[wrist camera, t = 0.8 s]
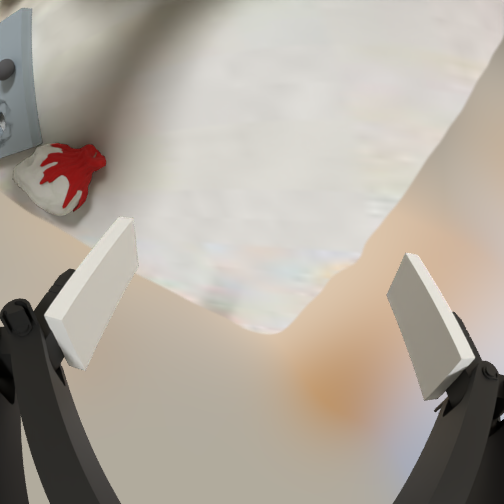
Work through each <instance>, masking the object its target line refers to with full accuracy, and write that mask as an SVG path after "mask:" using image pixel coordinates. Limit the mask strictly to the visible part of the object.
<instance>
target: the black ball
mask: <svg viewBox="0 0 504 504" xmlns="http://www.w3.org/2000/svg"><path fill="white" fill-rule="evenodd" d="M14 69H15V64H14V62H13V61H12V60H11V59H4V60H2V61H0V81H4V80H7V79H8V78H9V77H11V75H12V74H13V72H14Z"/></svg>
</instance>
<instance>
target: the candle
mask: <svg viewBox="0 0 504 504" xmlns="http://www.w3.org/2000/svg"><path fill="white" fill-rule="evenodd" d="M104 166H106V159H105V157H104V156H102V155H101V153H100V152H99V151H98V150H97V149H96V148H95V147H94V146H93V145H91V144H88V145H85V146H84V147H82V148H80V149H73V148H71V147H70V146H68V145H66V144H60V143H50V144H44V145H43V146H39V147H38V148H36V150H35V152H34V153H33V154H32V156H31V157H28V158H26V159H25V160H23V161H22V162H21V163H20V164H18V165H17V166H16V167H15V168H14V171H13V172H14V173H13V179H12V180H14V182H15V184H17V183H18V187H20V188H22V190H23V191H26V193H27V195H28V196H29V197H30V199H31V200H32V201H33V202H34V203H35V204H36V205H37V206H38V207H40V208H41V209H43V210H45V211H47V212H49V213H51V214H54V215H57V216H64V215H67V214H68V213H69V212H71V211H72V210H73V212H74V211H75V210H77V209H78V208H79V207H80V206H81V205H82V204H83V203H84V202H85V201H86V198H87V195H88V185H89V183H90V181H91V178H92V173H93V172H94V171H97V170H99V169H101V168H102V167H104Z"/></svg>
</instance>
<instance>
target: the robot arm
mask: <svg viewBox="0 0 504 504" xmlns="http://www.w3.org/2000/svg"><path fill="white" fill-rule="evenodd" d="M138 266H139V264H138V256H137V247H136V238H135V227H134V218H127V217H119V218H118V219H117V220H116V221H115V222H114V223H113V225H112V226H111V227H110V228H109V229H108V231H107V232H106V233H105V234H104V235H103V237H102V238H101V239H100V240H99V241H98V243H97V244H96V245H95V246H94V248H93V249H92V250H91V251H90V253H89V254H88V255H87V256H86V258H85V259H84V260H83V261H82V263H81V264H80V265H79V267H78V268H77V269H76V270H74V269H68V270H67V271H66V272H64V273H63V274H61V275H60V276H59V277H58V279H57V280H56V281H55V283H54V285H53V286H52V287H51V288H50V289H49V292H48V293H46V295H45V296H44V298H43V299H42V300H41V302H40V303H39V304H38V306H37V307H36V309H35V310H34V311H33V309H32V307H31V305H30V303H29V302H28V301H27V300H26V299H15V300H12V301H10V302H8V303H7V304H6V305H5V306H4V307H3V309H2V310H1V312H0V319H1V321H2V323H3V325H4V327H0V504H29V501H28V495H27V489H26V483H25V475H24V467H23V457H22V443H21V417H22V422H23V426H24V430H25V434H26V437H27V441H28V444H29V448H30V451H31V454H32V457H33V460H34V463H35V466H36V469H37V472H38V475H39V477H40V480H41V483H42V485H43V488H44V490H45V493H46V495H47V498H48V500H49V502H50V504H121V503H120V501H119V499H118V498H117V496H116V494H115V492H114V491H113V489H112V487H111V486H110V483H109V482H108V480H107V478H106V476H105V474H104V472H103V470H102V468H101V466H100V464H99V462H98V460H97V458H96V456H95V453H94V451H93V449H92V447H91V445H90V442H89V440H88V438H87V435H86V433H85V430H84V428H83V426H82V423H81V421H80V418H79V415H78V413H77V410H76V407H75V404H74V402H73V399H72V396H71V393H70V390H69V387H68V384H67V380H66V377H65V374H64V370H63V368H62V366H61V362H62V360H63V358H64V357H65V359H66V361H67V363H68V364H69V366H72V367H75V368H78V369H81V370H86V369H87V366H88V364H89V362H90V360H91V358H92V355H93V353H94V351H95V349H96V347H97V345H98V343H99V341H100V338H101V337H102V335H103V333H104V330H105V328H106V326H107V324H108V322H109V321H110V318H111V317H112V314H113V313H114V311H115V309H116V307H117V304H118V303H119V301H120V299H121V297H122V296H123V294H124V292H125V290H126V288H127V286H128V284H129V283H130V281H131V279H132V277H133V275H134V274H135V272H136V270H137V268H138ZM387 297H388V300H389V302H390V305H391V307H392V310H393V313H394V315H395V318H396V320H397V323H398V325H399V328H400V330H401V333H402V336H403V338H404V341H405V344H406V347H407V350H408V352H409V355H410V358H411V361H412V363H413V367H414V370H415V373H416V376H417V379H418V382H419V385H420V388H421V391H422V395H423V398H424V401H425V400H432V399H438V398H439V397H440V396H441V395H442V394H443V393H444V392H445V391H446V392H447V395H448V397H447V398H446V399H445V400H444V401H443V402H442V403H441V404H440V405H439V406H438V407H437V408H436V409H435V410H434V412H437V410H439V409H440V408H441V410H440V412H439V415H438V417H437V420H436V422H435V424H434V427H433V429H432V431H431V434H430V436H429V438H428V440H427V442H426V444H425V447H424V449H423V451H422V453H421V455H420V457H419V459H418V461H417V463H416V465H415V466H414V468H413V470H412V472H411V474H410V476H409V477H408V479H407V481H406V483H405V485H404V487H403V488H402V490H401V492H400V493H399V495H398V496H397V498H396V500H395V501H394V503H393V504H504V419H503V420H502V421H501V420H500V416H501V415H502V414H503V413H504V375H500V374H499V373H498V371H497V369H496V368H495V366H494V365H493V364H491V363H490V362H488V361H482V359H481V357H480V355H479V353H478V351H477V349H476V347H475V345H474V343H473V341H472V339H471V337H469V333H468V331H467V330H466V327H465V326H464V324H463V322H462V320H461V319H460V318H459V317H458V316H457V314H456V313H455V312H452V311H451V309H450V308H449V306H448V304H447V302H446V300H445V299H444V297H443V295H442V293H441V292H440V290H439V288H438V287H437V285H436V283H435V282H434V280H433V279H432V277H431V275H430V274H429V272H428V270H427V269H426V267H425V266H424V264H423V263H422V261H421V259H420V258H419V256H418V255H417V254H410V253H405V255H404V257H403V260H402V262H401V264H400V267H399V269H398V271H397V273H396V276H395V278H394V280H393V282H392V284H391V286H390V288H389V291H388V293H387Z"/></svg>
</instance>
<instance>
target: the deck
mask: <svg viewBox="0 0 504 504" xmlns="http://www.w3.org/2000/svg"><path fill="white" fill-rule="evenodd" d="M31 24H32V9H29V8H21V9H20V10H18V11H17V12H15V13H14V14H12V15H10V16H9V17H8V18H6V19H5V20H3V21H2V22H0V61H2V60H4V59H11V60H12V61H13V62H14V64H15V69H14V72H13V74H12V75H11V77H9V78H8V79H7V80H4V81H0V115H1V113H2V114H3V115H4V117H5V130H4V132H3V130H2V128H1V127H0V158H3V157H5V156H8V155H11V154H14V153H17V152H20V151H23V150H26V149H29V148H33V147H35V146H37V145H39V144H41V143H42V138H41V132H40V126H39V120H38V114H37V106H36V99H35V90H34V79H33V66H32V40H31Z"/></svg>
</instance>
